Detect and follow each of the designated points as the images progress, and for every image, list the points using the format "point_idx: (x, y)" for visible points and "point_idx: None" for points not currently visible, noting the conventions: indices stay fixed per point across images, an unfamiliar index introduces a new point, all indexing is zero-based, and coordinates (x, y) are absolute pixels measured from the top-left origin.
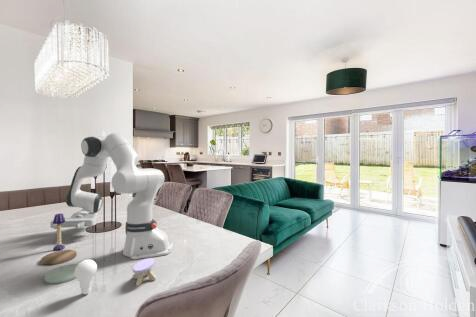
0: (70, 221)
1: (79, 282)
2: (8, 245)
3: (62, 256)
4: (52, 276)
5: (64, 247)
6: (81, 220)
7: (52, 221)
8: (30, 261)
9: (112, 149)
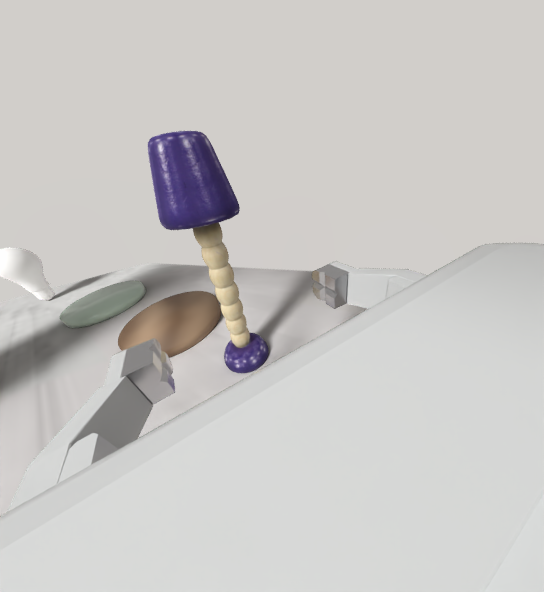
0: (310, 345)
1: (44, 277)
2: None
3: (157, 318)
4: (123, 285)
5: (230, 368)
6: (88, 463)
7: (481, 246)
8: (244, 291)
9: None
